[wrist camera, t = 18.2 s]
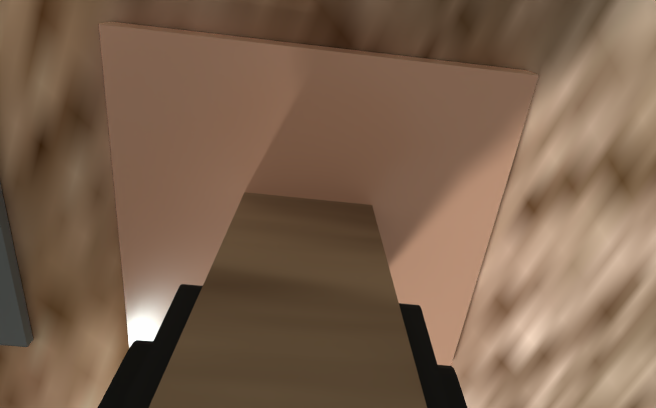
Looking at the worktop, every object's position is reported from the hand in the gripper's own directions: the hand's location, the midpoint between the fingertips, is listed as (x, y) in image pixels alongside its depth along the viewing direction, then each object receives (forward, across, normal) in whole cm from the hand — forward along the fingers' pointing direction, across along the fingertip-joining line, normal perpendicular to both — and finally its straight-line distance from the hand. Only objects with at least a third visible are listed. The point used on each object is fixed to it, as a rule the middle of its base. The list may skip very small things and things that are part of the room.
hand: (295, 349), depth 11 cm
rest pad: (+6, 0, 0) cm, 6 cm away
